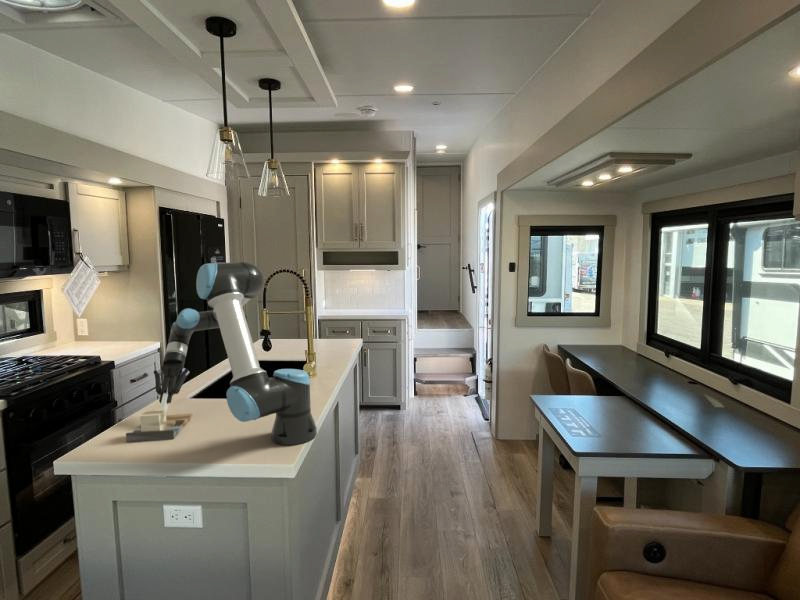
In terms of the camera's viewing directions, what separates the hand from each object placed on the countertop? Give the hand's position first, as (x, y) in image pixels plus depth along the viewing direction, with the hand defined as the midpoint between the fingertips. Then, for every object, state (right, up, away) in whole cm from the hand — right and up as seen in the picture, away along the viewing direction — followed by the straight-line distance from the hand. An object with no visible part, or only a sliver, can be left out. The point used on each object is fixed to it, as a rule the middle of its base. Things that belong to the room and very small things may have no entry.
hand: (162, 410), depth 163 cm
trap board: (0, -6, -2) cm, 6 cm away
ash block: (+1, -5, -8) cm, 10 cm away
